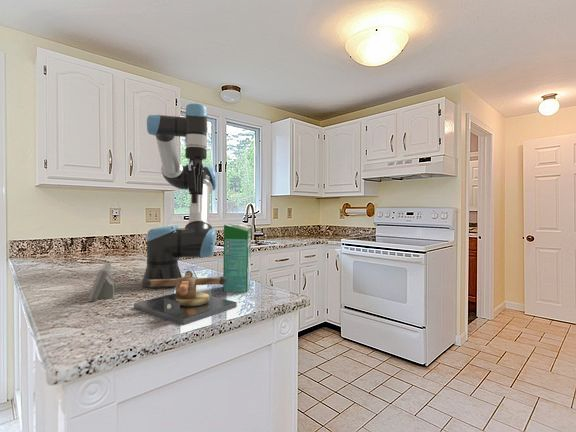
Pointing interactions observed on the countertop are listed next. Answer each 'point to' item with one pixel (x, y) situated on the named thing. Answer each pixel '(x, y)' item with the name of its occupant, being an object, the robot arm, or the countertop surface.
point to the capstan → (187, 288)
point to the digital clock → (103, 285)
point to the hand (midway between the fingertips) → (195, 212)
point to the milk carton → (237, 258)
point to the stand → (183, 308)
